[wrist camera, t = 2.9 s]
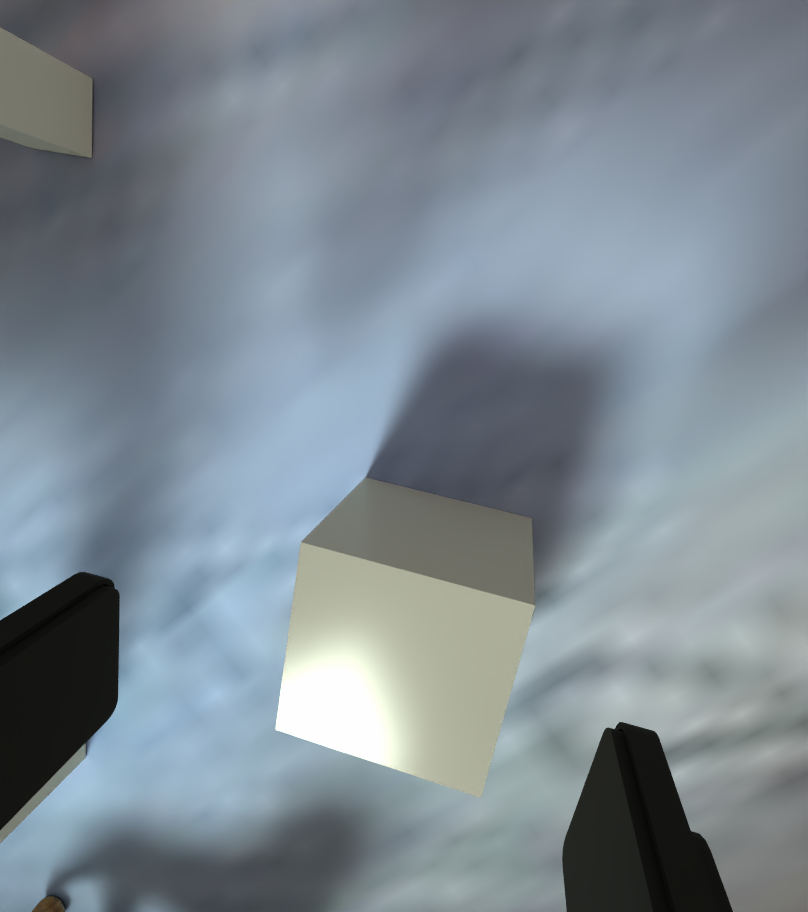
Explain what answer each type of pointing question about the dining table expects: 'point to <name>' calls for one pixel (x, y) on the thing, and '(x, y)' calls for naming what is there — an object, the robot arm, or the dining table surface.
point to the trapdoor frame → (57, 130)
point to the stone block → (409, 631)
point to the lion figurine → (49, 905)
